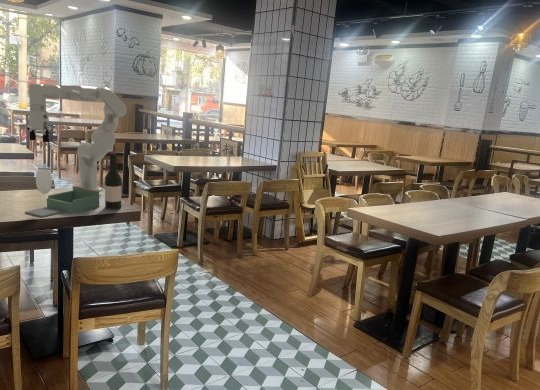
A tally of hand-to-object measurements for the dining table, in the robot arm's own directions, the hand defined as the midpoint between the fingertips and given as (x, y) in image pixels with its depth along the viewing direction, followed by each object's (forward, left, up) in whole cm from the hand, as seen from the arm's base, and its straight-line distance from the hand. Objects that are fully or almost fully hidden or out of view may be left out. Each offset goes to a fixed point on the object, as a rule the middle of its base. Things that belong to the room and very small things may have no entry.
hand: (39, 141), depth 231 cm
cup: (+13, +18, -33) cm, 40 cm away
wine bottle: (-15, +36, -34) cm, 51 cm away
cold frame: (-3, +20, -33) cm, 39 cm away
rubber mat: (+14, +18, -33) cm, 40 cm away
